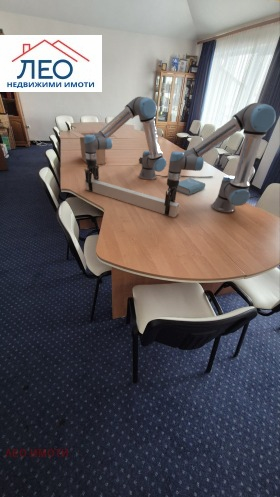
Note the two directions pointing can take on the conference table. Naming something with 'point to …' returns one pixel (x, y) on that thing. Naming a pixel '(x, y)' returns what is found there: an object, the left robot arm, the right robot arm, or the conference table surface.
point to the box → (99, 153)
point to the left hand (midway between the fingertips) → (93, 189)
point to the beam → (132, 197)
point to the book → (190, 186)
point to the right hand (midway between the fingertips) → (168, 212)
